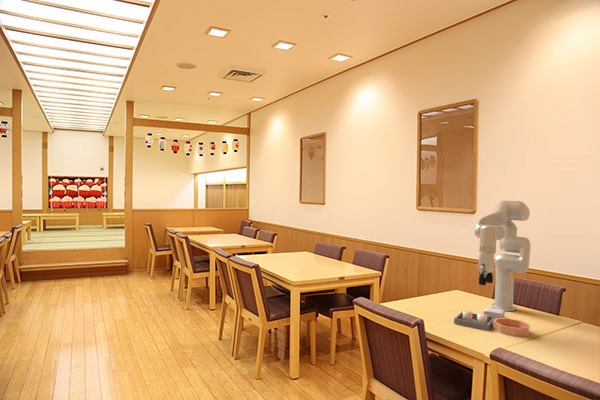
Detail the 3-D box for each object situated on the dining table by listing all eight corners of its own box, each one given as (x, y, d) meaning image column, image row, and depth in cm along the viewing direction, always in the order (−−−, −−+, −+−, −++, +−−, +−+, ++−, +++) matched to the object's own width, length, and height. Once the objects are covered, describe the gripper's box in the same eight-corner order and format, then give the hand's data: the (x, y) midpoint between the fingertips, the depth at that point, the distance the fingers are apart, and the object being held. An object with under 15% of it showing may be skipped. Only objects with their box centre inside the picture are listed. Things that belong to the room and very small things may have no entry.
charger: (505, 315, 220) (502, 322, 208) (487, 312, 225) (483, 319, 213) (505, 307, 220) (503, 313, 208) (487, 304, 225) (483, 310, 212)
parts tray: (461, 316, 215) (462, 311, 215) (494, 323, 206) (494, 317, 206) (453, 324, 202) (454, 318, 202) (488, 331, 193) (488, 325, 193)
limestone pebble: (478, 322, 205) (478, 312, 205) (487, 324, 203) (488, 314, 203) (476, 324, 202) (476, 314, 201) (485, 326, 199) (486, 316, 199)
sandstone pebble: (463, 319, 209) (464, 310, 209) (473, 321, 207) (473, 311, 207) (461, 321, 206) (461, 312, 206) (470, 323, 203) (471, 313, 203)
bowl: (496, 323, 205) (496, 316, 205) (530, 330, 196) (530, 322, 196) (490, 331, 193) (491, 323, 193) (526, 339, 184) (527, 330, 184)
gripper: (485, 248, 212) (484, 280, 212) (473, 249, 200) (471, 284, 199) (501, 250, 207) (499, 283, 207) (489, 251, 194) (487, 287, 194)
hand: (485, 283), depth 203 cm, fingers open, 9 cm apart
